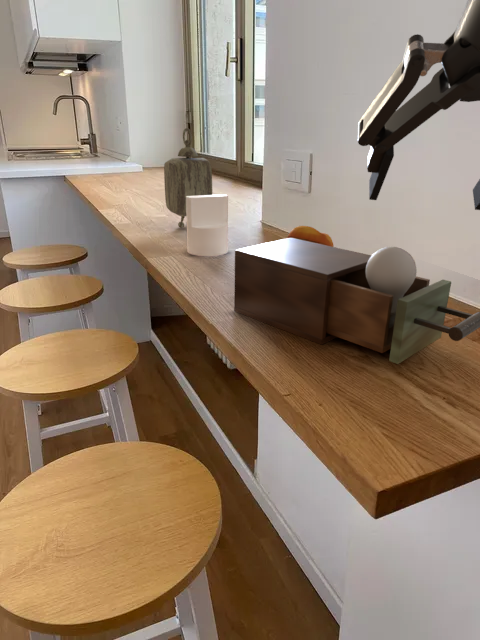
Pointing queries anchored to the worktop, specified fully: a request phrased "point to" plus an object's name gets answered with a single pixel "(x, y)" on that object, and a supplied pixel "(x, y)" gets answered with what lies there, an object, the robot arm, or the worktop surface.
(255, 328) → the worktop surface
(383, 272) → the lightbulb
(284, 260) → the cabinet
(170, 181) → the cowbell
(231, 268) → the worktop surface
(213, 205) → the base with upright slab
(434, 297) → the drawer
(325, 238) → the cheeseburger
